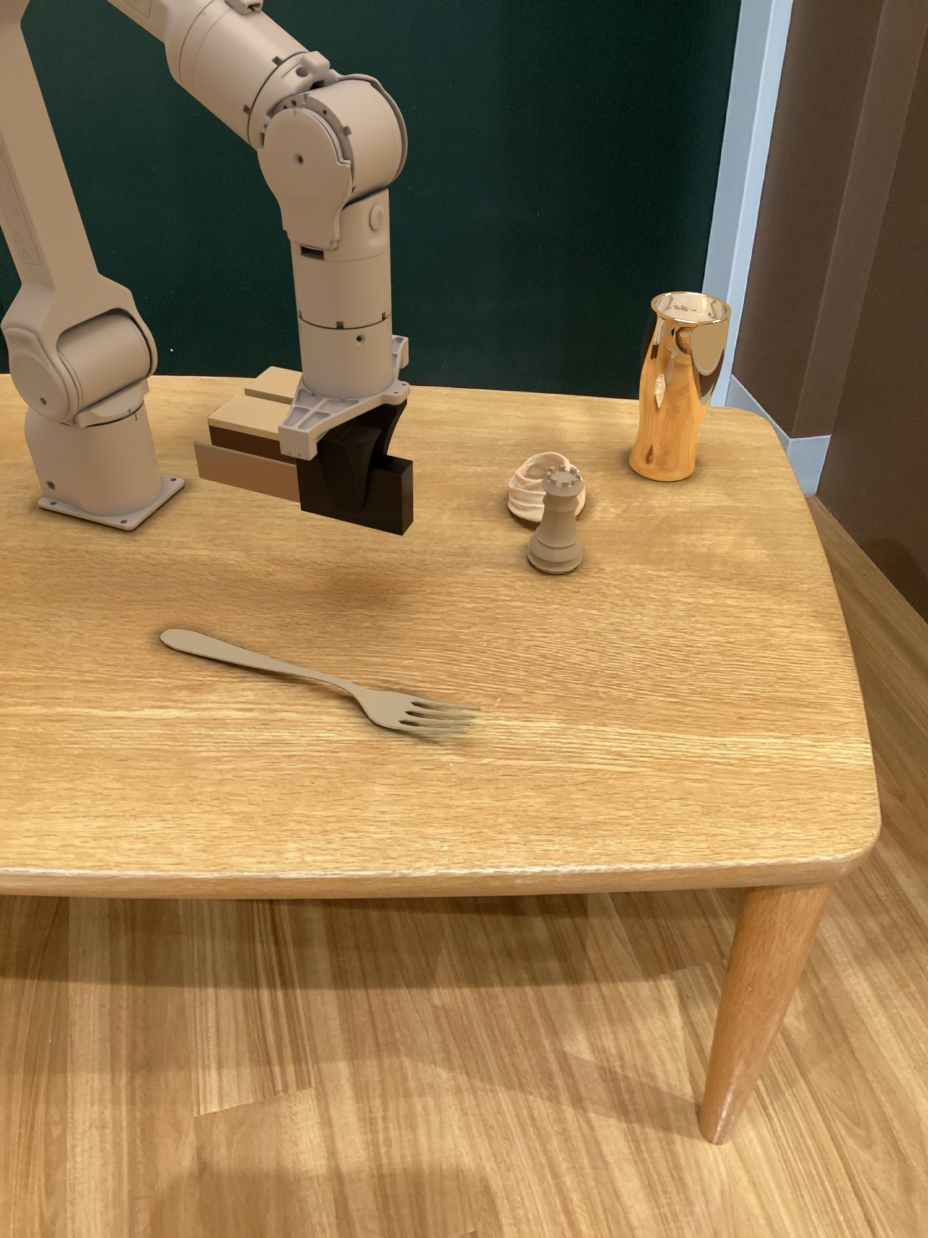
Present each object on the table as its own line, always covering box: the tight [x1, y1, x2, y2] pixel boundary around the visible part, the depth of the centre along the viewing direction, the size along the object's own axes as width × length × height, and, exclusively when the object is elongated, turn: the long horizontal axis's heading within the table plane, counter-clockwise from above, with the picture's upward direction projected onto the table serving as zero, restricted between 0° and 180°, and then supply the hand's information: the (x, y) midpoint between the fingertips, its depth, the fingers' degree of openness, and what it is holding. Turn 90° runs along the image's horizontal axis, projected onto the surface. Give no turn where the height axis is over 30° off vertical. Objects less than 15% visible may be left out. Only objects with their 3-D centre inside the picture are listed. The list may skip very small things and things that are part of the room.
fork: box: [159, 628, 484, 735], centre depth 62 cm, size 3×24×2 cm, turn 67°
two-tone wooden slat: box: [192, 440, 415, 537], centre depth 65 cm, size 17×2×5 cm, turn 69°
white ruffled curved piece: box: [507, 451, 587, 523], centre depth 78 cm, size 8×7×5 cm
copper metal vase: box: [628, 290, 732, 482], centre depth 81 cm, size 7×7×15 cm
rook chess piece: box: [526, 465, 585, 575], centre depth 71 cm, size 4×4×8 cm
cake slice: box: [243, 365, 303, 405], centre depth 88 cm, size 10×5×4 cm, turn 69°
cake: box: [206, 393, 296, 465], centre depth 83 cm, size 10×5×4 cm, turn 69°
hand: (355, 499), depth 65 cm, fingers closed on two-tone wooden slat, 2 cm apart
